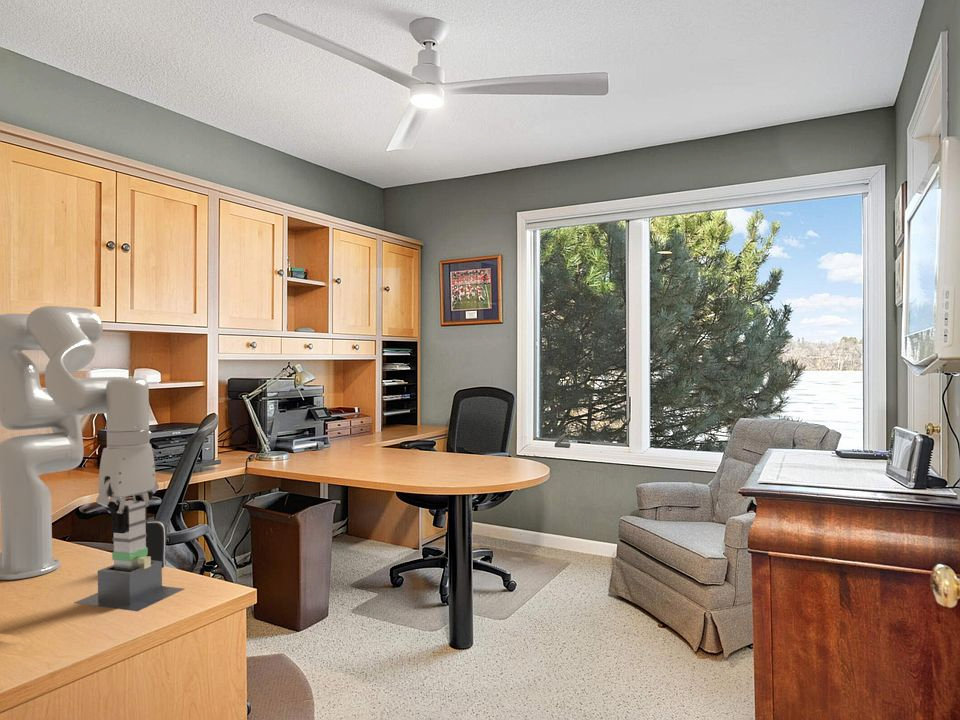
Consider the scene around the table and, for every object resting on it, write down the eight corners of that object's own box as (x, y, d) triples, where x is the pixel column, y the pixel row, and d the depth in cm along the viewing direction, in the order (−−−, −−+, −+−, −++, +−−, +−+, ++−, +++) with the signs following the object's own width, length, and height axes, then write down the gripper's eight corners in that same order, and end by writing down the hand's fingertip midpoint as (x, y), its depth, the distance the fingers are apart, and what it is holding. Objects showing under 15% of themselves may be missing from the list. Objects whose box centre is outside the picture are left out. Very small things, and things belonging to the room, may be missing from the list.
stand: (73, 607, 123) (72, 562, 123) (124, 586, 134) (124, 544, 134) (137, 616, 118) (137, 568, 118) (185, 593, 130) (184, 550, 130)
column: (112, 569, 125) (111, 504, 125) (130, 562, 129) (129, 499, 129) (129, 571, 124) (128, 505, 124) (147, 564, 128) (146, 501, 128)
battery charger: (169, 566, 147) (168, 518, 147) (163, 571, 143) (163, 522, 144) (137, 568, 146) (137, 519, 146) (131, 574, 142) (130, 524, 142)
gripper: (147, 433, 135) (148, 518, 135) (76, 444, 119) (77, 539, 119) (175, 434, 133) (176, 520, 133) (106, 445, 117) (108, 542, 117)
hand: (129, 528), depth 126 cm, fingers closed on column, 4 cm apart
